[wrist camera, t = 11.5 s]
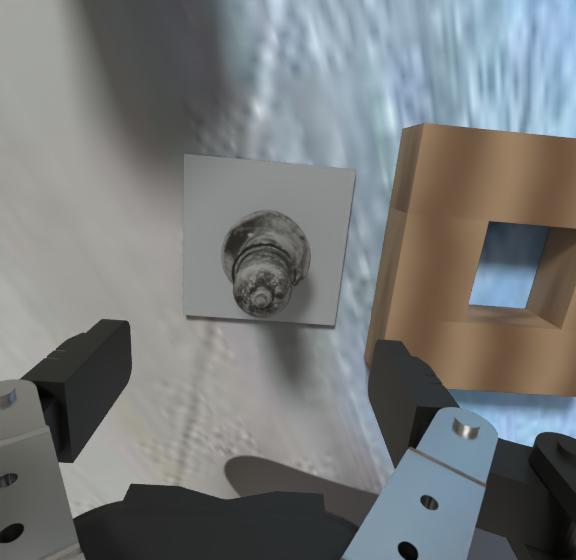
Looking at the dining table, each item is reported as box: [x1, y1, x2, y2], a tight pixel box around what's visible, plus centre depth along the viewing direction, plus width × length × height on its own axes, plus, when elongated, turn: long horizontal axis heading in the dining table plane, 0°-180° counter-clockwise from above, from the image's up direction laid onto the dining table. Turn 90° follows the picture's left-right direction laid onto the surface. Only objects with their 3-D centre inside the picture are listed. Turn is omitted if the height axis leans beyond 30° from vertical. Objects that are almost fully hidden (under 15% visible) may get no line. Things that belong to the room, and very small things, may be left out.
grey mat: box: [183, 154, 356, 325], centre depth 28 cm, size 12×12×1 cm
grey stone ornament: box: [221, 210, 311, 318], centre depth 22 cm, size 6×6×12 cm
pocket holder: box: [364, 123, 576, 397], centre depth 27 cm, size 18×18×4 cm
